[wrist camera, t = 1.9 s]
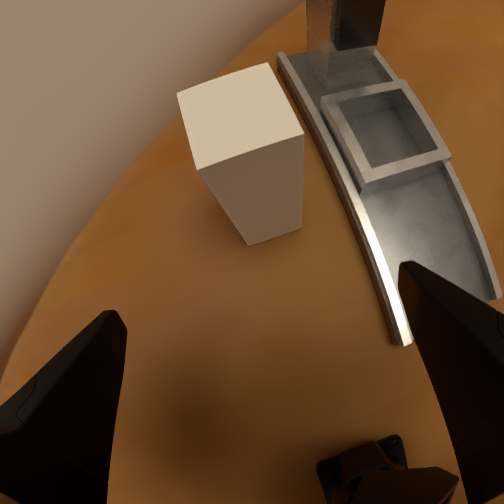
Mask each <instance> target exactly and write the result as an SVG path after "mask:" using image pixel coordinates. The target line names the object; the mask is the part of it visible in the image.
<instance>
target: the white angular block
mask: <svg viewBox="0 0 504 504" xmlns="http://www.w3.org/2000/svg"><path fill="white" fill-rule="evenodd" d="M177 97H178V101H179V105H180V109H181V113H182V117H183V120H184V124H185V128H186V132H187V135H188V139H189V143H190V147H191V150H192V154H193V158H194V161H195V165H196V169H197V171H198V172H199V174H200V175H201V177H202V178H203V180H204V181H205V183H206V184H207V186H208V187H209V189H210V190H211V192H212V193H213V195H214V196H215V198H216V199H217V200H218V202H219V203H220V205H221V206H222V208H223V209H224V211H225V212H226V214H227V215H228V217H229V218H230V220H231V221H232V223H233V224H234V226H235V227H236V229H237V230H238V232H239V233H240V234H241V236H242V237H243V239H244V240H245V242H246V243H247V245H248V246H251V245H254V244H257V243H260V242H263V241H266V240H269V239H272V238H275V237H278V236H281V235H284V234H287V233H290V232H292V231H295V230H298V229H301V228H302V207H303V176H304V132H303V130H302V128H301V126H300V124H299V122H298V120H297V118H296V116H295V114H294V112H293V110H292V108H291V106H290V104H289V102H288V100H287V98H286V96H285V94H284V92H283V90H282V88H281V86H280V85H279V83H278V81H277V79H276V77H275V75H274V73H273V71H272V70H271V68H270V66H269V64H268V62H267V63H264V64H260V65H257V66H253V67H250V68H247V69H243V70H240V71H237V72H234V73H231V74H228V75H225V76H222V77H219V78H216V79H213V80H210V81H207V82H205V83H202V84H199V85H197V86H194V87H192V88H189V89H186V90H184V91H181V92H178V93H177Z"/></svg>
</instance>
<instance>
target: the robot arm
mask: <svg viewBox="0 0 504 504" xmlns="http://www.w3.org/2000/svg"><path fill="white" fill-rule="evenodd" d="M397 285H398V291H399V295H400V298H401V301H402V304H403V307H404V310H405V313H406V317H407V320H408V323H409V326H410V329H411V333H412V335H413V338H414V340H415V343H416V345H417V347H418V350H419V352H420V355H421V357H422V360H423V362H424V365H425V367H426V370H427V372H428V375H429V377H430V380H431V383H432V385H433V388H434V391H435V394H436V396H437V399H438V402H439V405H440V408H441V411H442V413H443V416H444V419H445V422H446V425H447V429H448V432H449V435H450V438H451V441H452V445H453V448H454V450H455V455H456V459H457V462H458V466H459V470H460V473H461V477H462V481H463V485H464V489H465V493H466V498H467V502H468V504H485V503H487V502H489V501H491V500H493V499H495V498H497V497H498V496H500V495H502V494H504V314H502V313H501V312H499V311H496V309H494V308H493V307H491V306H489V305H488V304H486V303H485V302H483V301H481V300H480V299H478V298H477V297H475V296H473V295H472V294H470V293H468V292H467V291H465V290H463V289H462V288H460V287H458V286H457V285H455V284H453V283H452V282H450V281H448V280H447V279H445V278H443V277H441V276H440V275H438V274H436V273H435V272H433V271H431V270H429V269H428V268H426V267H424V266H422V265H421V264H419V263H417V262H415V261H413V260H409V261H404V262H401V263H400V264H399V271H398V284H397ZM126 342H127V328H126V326H125V324H124V323H123V321H122V319H121V318H120V316H119V314H118V313H117V311H115V310H105V311H103V312H102V313H101V314H100V315H98V316H97V317H96V318H95V319H94V320H93V321H92V322H91V323H90V324H88V325H87V326H86V327H85V328H84V329H83V330H82V331H81V332H80V333H79V334H78V335H76V336H75V337H74V338H73V339H72V340H71V341H70V342H69V343H68V344H67V345H66V346H65V347H63V348H62V349H61V350H60V351H59V352H58V353H57V354H56V355H55V356H54V357H53V358H52V359H51V360H50V361H49V362H48V363H47V364H45V365H44V366H43V367H42V368H41V369H40V370H39V371H38V372H37V374H35V375H34V376H33V377H32V378H31V379H30V380H29V381H28V382H27V383H26V384H25V385H24V386H23V387H21V388H20V389H19V390H18V391H17V392H16V393H15V394H14V395H13V396H11V397H10V398H9V399H8V400H7V401H6V402H5V403H3V404H2V405H1V406H0V504H107V493H108V480H109V469H110V460H111V452H112V443H113V436H114V429H115V422H116V415H117V409H118V402H119V396H120V390H121V385H122V379H123V373H124V364H125V352H126ZM394 440H397V442H396V443H395V444H392V443H393V441H394ZM321 466H326V468H325V469H320V467H321ZM316 470H317V473H318V476H319V479H320V482H321V485H322V489H323V492H324V495H325V498H326V501H327V504H449V503H450V501H451V499H452V496H453V494H454V491H455V489H456V486H457V484H458V481H459V477H457V476H455V475H453V474H451V473H449V472H447V471H445V470H443V469H441V468H439V467H427V468H415V469H408V466H407V461H406V456H405V451H404V447H403V442H402V439H401V437H400V436H398V435H393V436H391V437H388V438H386V439H383V440H381V441H378V442H374V441H373V442H370V443H368V444H365V445H362V446H359V447H357V448H354V449H351V450H348V451H345V452H342V453H341V454H340V455H339V456H336V457H333V458H330V459H327V460H323V461H320V462H319V463H318V464H317V465H316Z"/></svg>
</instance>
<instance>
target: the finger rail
mask: <svg viewBox="0 0 504 504" xmlns="http://www.w3.org/2000/svg"><path fill="white" fill-rule="evenodd" d="M385 1H386V0H305V3H306V38H307V52H304V53H299V54H295V55H291V56H287V57H286V55H285V53H284V52H283V51H282V52H278V53H277V59H276V60H277V69H278V72H279V73H280V75H281V77H282V79H283V81H284V82H285V84H286V86H287V88H288V90H289V92H290V94H291V96H292V97H293V99H294V101H295V103H296V105H297V107H298V109H299V111H300V113H301V115H302V117H303V119H304V121H305V123H306V125H307V127H308V129H309V131H310V133H311V135H312V137H313V139H314V141H315V143H316V145H317V148H318V150H319V152H320V154H321V156H322V158H323V160H324V163H325V165H326V167H327V169H328V171H329V174H330V176H331V178H332V180H333V183H334V185H335V187H336V190H337V192H338V194H339V197H340V199H341V201H342V204H343V206H344V209H345V211H346V213H347V216H348V218H349V221H350V223H351V226H352V228H353V231H354V233H355V236H356V238H357V241H358V244H359V246H360V249H361V251H362V254H363V257H364V259H365V262H366V265H367V268H368V270H369V273H370V276H371V279H372V282H373V285H374V287H375V290H376V293H377V296H378V299H379V302H380V305H381V308H382V311H383V314H384V318H385V321H386V324H387V327H388V330H389V334H390V337H391V340H392V344H393V345H397V346H406V345H409V344H411V343H412V340H414V338H413V335H412V333H411V329H410V326H409V323H408V320H407V317H406V313H405V310H404V307H403V304H402V301H401V298H400V295H399V291H398V285H397V284H398V271H399V264H400V263H401V262H404V261H409V260H413V261H415V262H417V263H419V264H421V265H422V266H424V267H426V268H428V269H429V270H431V271H433V272H435V273H436V274H438V275H440V276H441V277H443V278H445V279H447V280H448V281H450V282H452V283H453V284H455V285H457V286H458V287H460V288H462V289H463V290H465V291H467V292H468V293H470V294H472V295H473V296H475V297H477V298H478V299H480V300H481V301H483V302H485V303H487V302H489V301H490V300H494V299H498V298H500V297H501V296H503V295H502V292H501V288H500V285H499V281H498V278H497V275H496V272H495V269H494V266H493V263H492V260H491V257H490V254H489V251H488V248H487V245H486V243H485V240H484V237H483V235H482V232H481V229H480V227H479V224H478V222H477V219H476V217H475V215H474V212H473V210H472V208H471V205H470V203H469V201H468V199H467V196H466V194H465V192H464V190H463V188H462V186H461V184H460V181H459V179H458V177H457V175H456V173H455V171H454V169H453V167H452V165H451V163H450V162H449V160H450V159H451V158H452V155H451V154H450V152H449V150H448V148H447V146H446V144H445V143H444V141H443V139H442V137H441V136H440V134H439V132H438V131H437V129H436V127H435V126H434V124H433V122H432V121H431V119H430V117H429V116H428V114H427V113H426V111H425V109H424V108H423V106H422V105H421V103H420V102H419V100H418V99H417V97H416V96H415V94H414V93H413V91H412V90H411V88H410V87H409V86H408V84H407V83H406V81H405V80H404V79H403V80H399V79H398V77H397V76H396V75H395V73H394V72H393V70H392V69H391V68H390V66H389V65H388V64H387V62H386V61H385V60H384V59H383V57H382V56H381V55H380V53H379V52H378V51H377V50H376V48H375V47H376V45H377V41H378V36H379V31H380V27H381V22H382V17H383V11H384V6H385Z"/></svg>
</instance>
